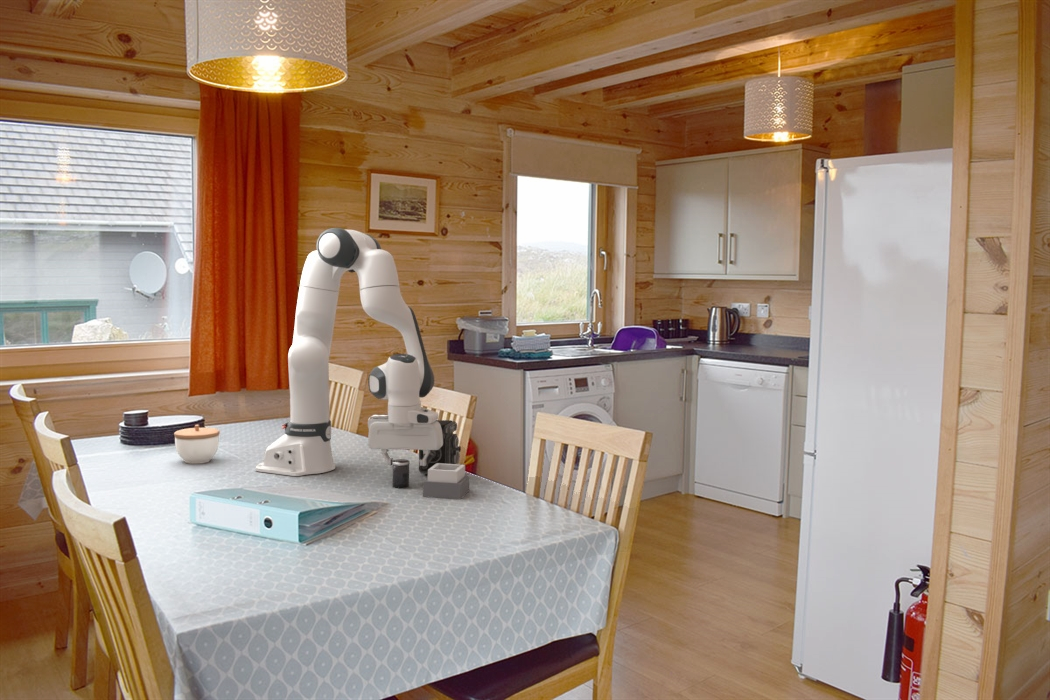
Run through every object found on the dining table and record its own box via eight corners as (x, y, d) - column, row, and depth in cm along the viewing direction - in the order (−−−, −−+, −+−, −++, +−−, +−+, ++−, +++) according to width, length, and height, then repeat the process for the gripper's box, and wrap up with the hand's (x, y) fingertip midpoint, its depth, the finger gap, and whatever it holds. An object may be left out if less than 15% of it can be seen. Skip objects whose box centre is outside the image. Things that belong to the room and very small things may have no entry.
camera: (452, 478, 225) (453, 426, 224) (417, 476, 228) (417, 424, 226) (462, 470, 236) (463, 419, 234) (428, 468, 238) (429, 418, 236)
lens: (389, 487, 214) (389, 462, 214) (395, 483, 219) (395, 458, 218) (406, 489, 213) (406, 463, 213) (411, 484, 218) (411, 459, 217)
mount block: (422, 496, 206) (422, 470, 205) (433, 488, 215) (433, 462, 214) (460, 499, 204) (460, 472, 204) (469, 490, 213) (469, 464, 212)
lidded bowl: (165, 463, 238) (164, 426, 237) (197, 455, 250) (196, 420, 249) (198, 467, 233) (197, 430, 232) (229, 459, 245) (228, 423, 244)
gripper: (363, 416, 214) (365, 467, 215) (438, 417, 210) (439, 468, 212) (371, 412, 220) (373, 462, 221) (443, 413, 217) (445, 463, 218)
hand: (406, 465), depth 216 cm, fingers open, 8 cm apart
